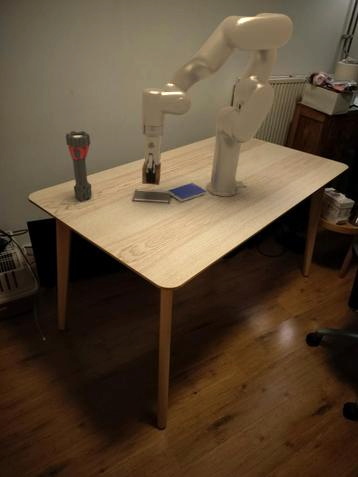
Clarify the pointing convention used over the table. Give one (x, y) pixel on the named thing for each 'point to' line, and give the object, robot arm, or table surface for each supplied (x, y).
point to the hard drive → (186, 192)
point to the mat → (151, 196)
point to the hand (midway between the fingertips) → (151, 178)
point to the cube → (157, 175)
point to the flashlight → (79, 162)
